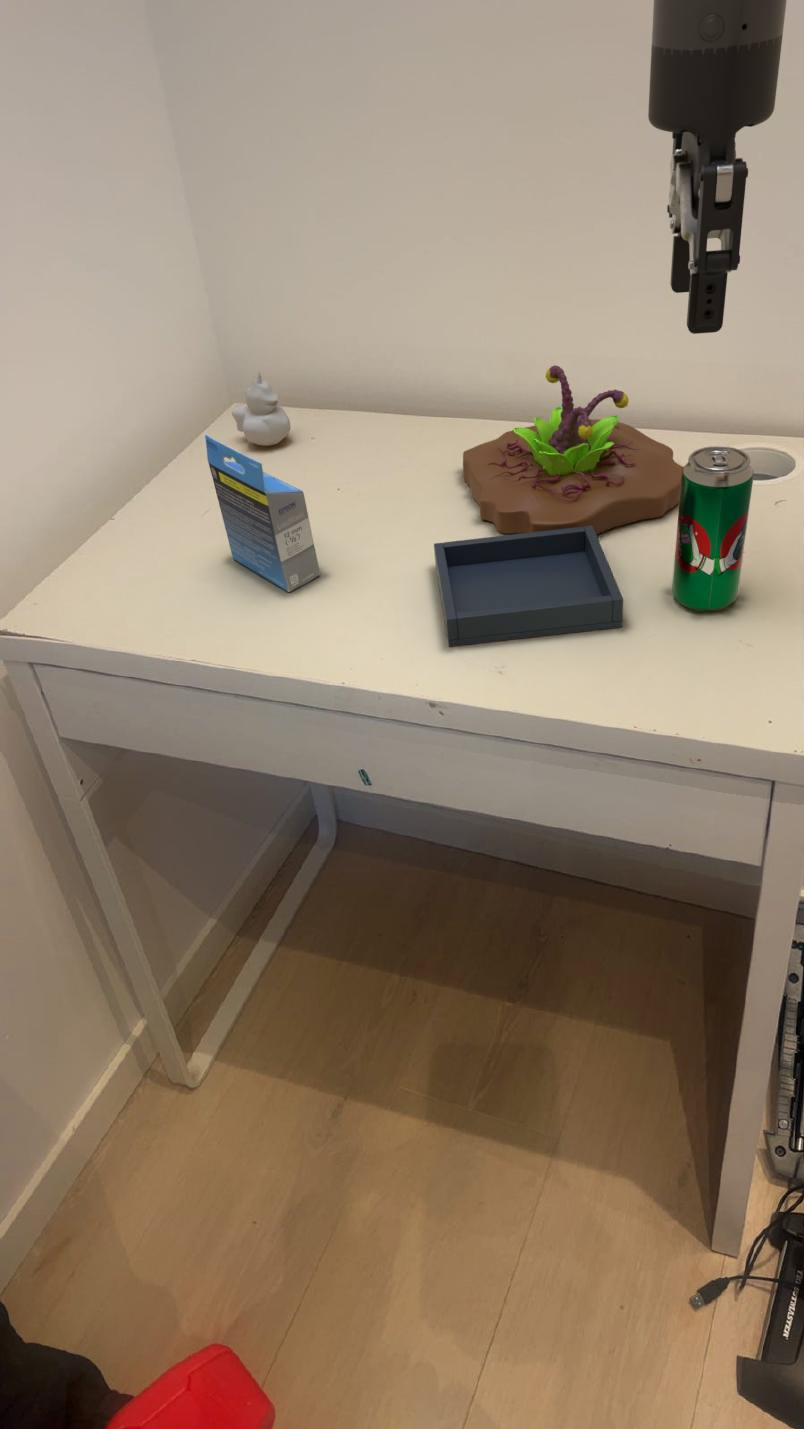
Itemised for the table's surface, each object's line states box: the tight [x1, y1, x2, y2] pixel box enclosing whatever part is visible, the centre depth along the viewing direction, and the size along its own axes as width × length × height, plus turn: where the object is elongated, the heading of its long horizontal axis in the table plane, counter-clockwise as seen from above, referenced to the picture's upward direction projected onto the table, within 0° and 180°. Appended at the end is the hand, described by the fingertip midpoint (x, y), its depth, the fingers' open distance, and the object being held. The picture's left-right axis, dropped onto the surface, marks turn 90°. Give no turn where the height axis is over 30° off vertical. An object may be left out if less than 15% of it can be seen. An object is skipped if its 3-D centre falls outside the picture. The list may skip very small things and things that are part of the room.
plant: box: [462, 364, 685, 536], centre depth 96 cm, size 20×20×11 cm
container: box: [433, 526, 624, 647], centre depth 85 cm, size 14×12×3 cm
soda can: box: [671, 445, 755, 613], centre depth 79 cm, size 5×5×12 cm
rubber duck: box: [231, 371, 291, 447], centre depth 111 cm, size 5×7×8 cm
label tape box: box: [204, 432, 321, 593], centre depth 89 cm, size 9×4×12 cm, turn 41°
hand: (694, 310), depth 72 cm, fingers open, 8 cm apart
